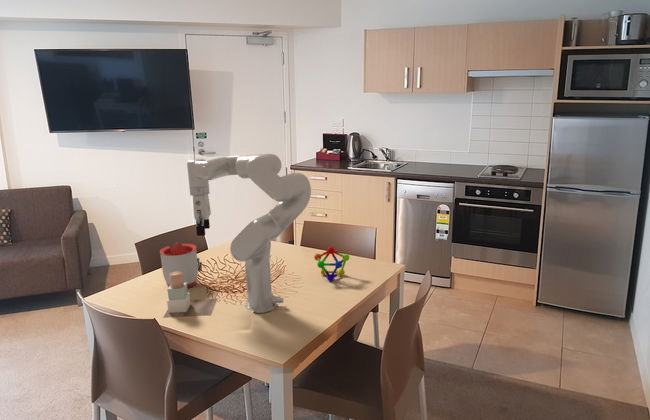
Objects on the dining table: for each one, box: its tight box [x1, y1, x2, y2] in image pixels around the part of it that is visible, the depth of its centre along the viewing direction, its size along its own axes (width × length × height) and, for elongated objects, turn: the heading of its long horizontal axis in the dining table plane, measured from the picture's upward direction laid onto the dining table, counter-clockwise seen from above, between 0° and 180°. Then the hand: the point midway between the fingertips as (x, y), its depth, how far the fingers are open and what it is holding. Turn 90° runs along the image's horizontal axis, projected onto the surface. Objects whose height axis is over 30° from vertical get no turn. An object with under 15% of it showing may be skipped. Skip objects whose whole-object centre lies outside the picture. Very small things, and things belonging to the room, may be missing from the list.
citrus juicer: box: [159, 242, 199, 289], centre depth 230 cm, size 16×17×20 cm
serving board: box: [162, 298, 218, 318], centre depth 206 cm, size 18×15×1 cm
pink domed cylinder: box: [169, 271, 184, 288], centre depth 202 cm, size 5×5×5 cm
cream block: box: [166, 292, 191, 313], centre depth 205 cm, size 7×7×5 cm
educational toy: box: [313, 246, 350, 282], centre depth 231 cm, size 16×13×15 cm
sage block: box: [167, 283, 189, 300], centre depth 204 cm, size 6×6×4 cm
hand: (203, 231), depth 211 cm, fingers open, 9 cm apart
